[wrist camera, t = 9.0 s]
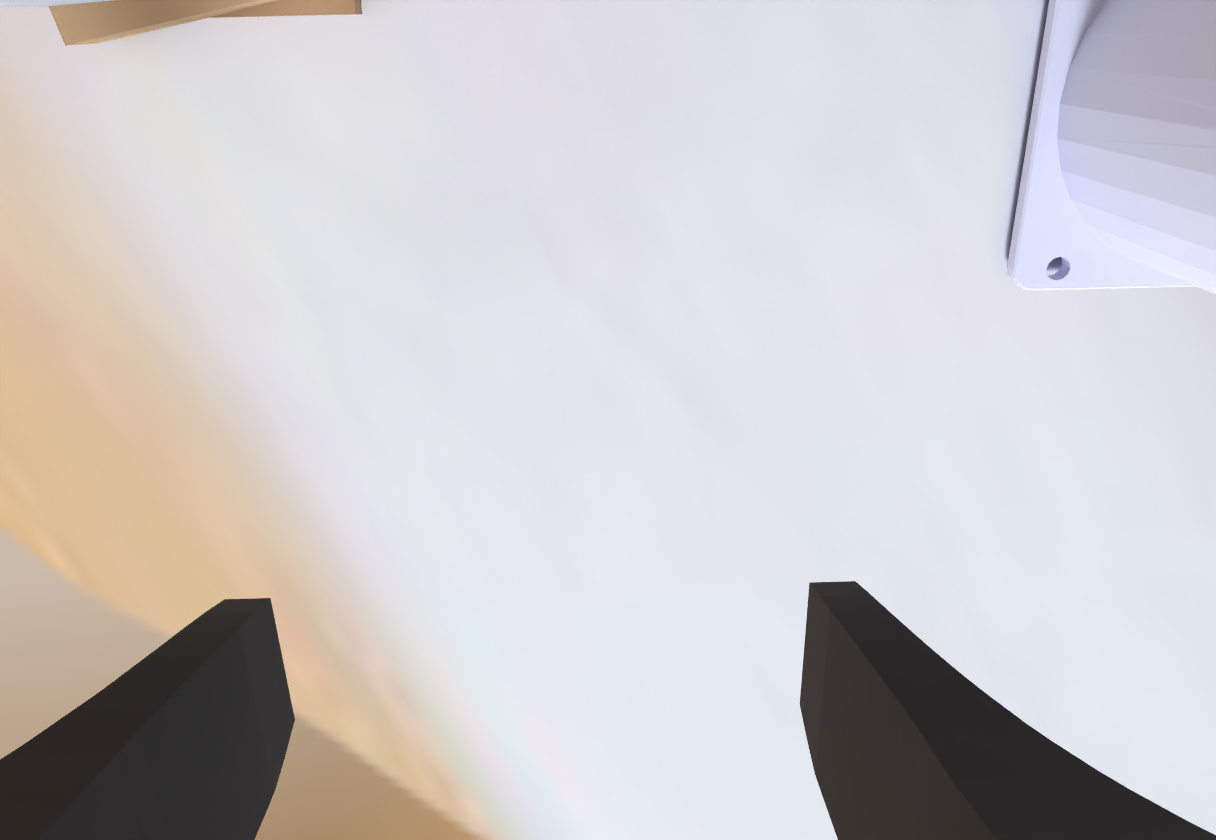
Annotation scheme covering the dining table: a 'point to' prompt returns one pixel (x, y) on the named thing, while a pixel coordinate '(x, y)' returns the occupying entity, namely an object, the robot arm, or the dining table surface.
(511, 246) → the dining table surface
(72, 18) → the slab top
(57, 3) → the cube
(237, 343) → the dining table surface
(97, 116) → the dining table surface
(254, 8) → the slab bottom
